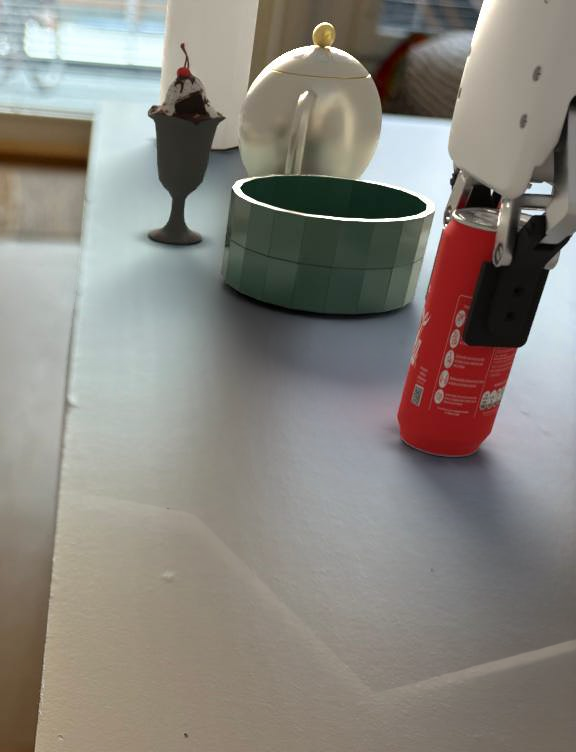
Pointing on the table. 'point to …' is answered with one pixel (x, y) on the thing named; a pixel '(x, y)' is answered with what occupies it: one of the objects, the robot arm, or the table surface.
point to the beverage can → (455, 348)
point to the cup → (212, 55)
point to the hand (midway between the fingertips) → (472, 321)
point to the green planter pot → (325, 242)
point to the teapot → (311, 114)
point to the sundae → (183, 148)
